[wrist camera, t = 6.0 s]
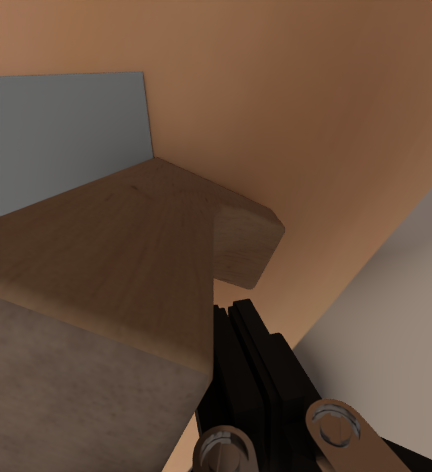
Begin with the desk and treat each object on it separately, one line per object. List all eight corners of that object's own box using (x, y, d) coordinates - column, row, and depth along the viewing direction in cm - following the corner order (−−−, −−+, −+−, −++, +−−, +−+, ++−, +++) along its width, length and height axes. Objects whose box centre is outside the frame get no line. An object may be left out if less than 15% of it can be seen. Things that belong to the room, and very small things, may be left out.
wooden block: (274, 210, 22) (490, 477, 5) (246, 264, 23) (337, 630, 6) (153, 154, 21) (-129, 249, 4) (130, 215, 22) (-162, 498, 5)
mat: (142, 72, 19) (142, 71, 19) (172, 312, 27) (172, 315, 26) (-269, 86, 16) (-281, 86, 15) (-103, 359, 23) (-108, 365, 22)
